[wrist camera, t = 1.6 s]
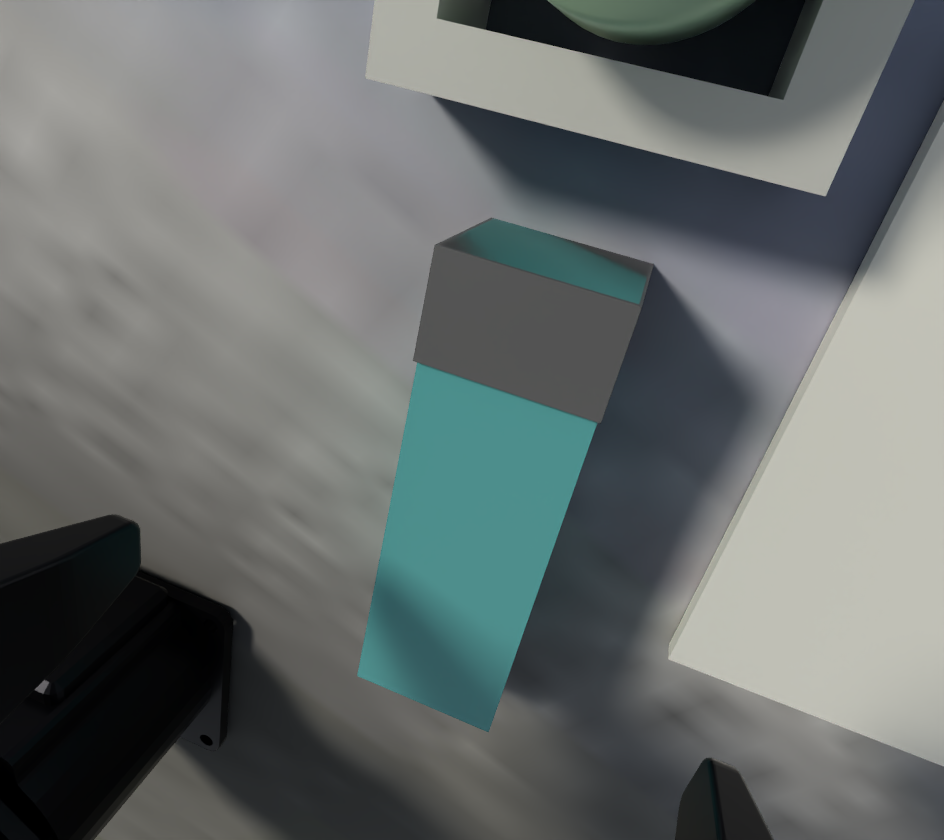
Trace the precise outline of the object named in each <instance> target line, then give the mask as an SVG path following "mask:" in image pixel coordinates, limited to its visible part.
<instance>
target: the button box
mask: <svg viewBox="0 0 944 840" xmlns="http://www.w3.org/2000/svg"><path fill="white" fill-rule="evenodd" d="M914 1H915V0H806V1H805V3H804V6H803V8H802V11H801V13H800V16H799V19H798V21H797V24H796V26H795V29H794V31H793V34H792V37H791V39H790V42H789V44H788V47H787V49H786V52H785V55H784V57H783V60H782V62H781V65H780V68H779V70H778V73H777V75H776V78H775V80H774V83H773V86H772V88H771V91H770V93H769V96H764V95H760V94H756V93H751V92H747V91H743V90H739V89H734V88H730V87H726V86H722V85H717V84H713V83H709V82H705V81H700V80H696V79H692V78H688V77H683V76H679V75H675V74H671V73H666V72H662V71H658V70H654V69H649V68H645V67H641V66H637V65H632V64H628V63H624V62H620V61H615V60H611V59H607V58H603V57H598V56H594V55H590V54H586V53H581V52H577V51H573V50H569V49H564V48H560V47H556V46H552V45H547V44H543V43H539V42H535V41H530V40H526V39H522V38H518V37H513V36H509V35H505V34H501V33H496V32H492V31H488V30H486V25H487V20H488V15H489V10H490V5H491V0H375V3H374V11H373V19H372V27H371V35H370V43H369V51H368V60H367V68H366V76H365V78H367V79H371V80H374V81H378V82H382V83H386V84H390V85H394V86H398V87H402V88H406V89H409V90H413V91H417V92H421V93H425V94H429V95H433V96H437V97H441V98H444V99H448V100H452V101H456V102H460V103H464V104H468V105H472V106H476V107H479V108H483V109H487V110H491V111H495V112H499V113H503V114H507V115H511V116H514V117H518V118H522V119H526V120H530V121H534V122H538V123H542V124H546V125H549V126H553V127H557V128H561V129H565V130H569V131H573V132H577V133H581V134H584V135H588V136H592V137H596V138H600V139H604V140H608V141H612V142H616V143H619V144H623V145H627V146H631V147H635V148H639V149H643V150H647V151H650V152H654V153H658V154H662V155H666V156H670V157H674V158H678V159H682V160H685V161H689V162H693V163H697V164H701V165H705V166H709V167H713V168H717V169H720V170H724V171H728V172H732V173H736V174H740V175H744V176H748V177H752V178H755V179H759V180H763V181H767V182H771V183H775V184H779V185H783V186H787V187H790V188H794V189H798V190H802V191H806V192H810V193H814V194H818V195H822V196H826V194H827V192H828V190H829V188H830V185H831V183H832V181H833V179H834V177H835V174H836V172H837V170H838V168H839V166H840V163H841V161H842V159H843V157H844V155H845V152H846V150H847V148H848V146H849V144H850V141H851V139H852V137H853V135H854V133H855V131H856V128H857V126H858V124H859V122H860V120H861V117H862V115H863V113H864V111H865V109H866V106H867V104H868V102H869V100H870V98H871V95H872V93H873V91H874V89H875V87H876V84H877V82H878V80H879V78H880V76H881V73H882V71H883V69H884V67H885V65H886V63H887V60H888V58H889V56H890V54H891V52H892V49H893V47H894V45H895V43H896V41H897V38H898V36H899V34H900V32H901V30H902V27H903V25H904V23H905V21H906V19H907V16H908V14H909V12H910V10H911V8H912V6H913V3H914Z"/></svg>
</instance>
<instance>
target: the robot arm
mask: <svg viewBox="0 0 944 840" xmlns="http://www.w3.org/2000/svg"><path fill="white" fill-rule="evenodd" d="M140 564H141V544H140V528H139V526H138V524H137V523H136V522H134V521H132V520H129V519H127V518H124V517H122V516H119V515H107V516H103V517H99V518H96V519H92V520H88V521H84V522H81V523H77V524H73V525H69V526H65V527H62V528H58V529H54V530H50V531H47V532H43V533H39V534H35V535H31V536H28V537H24V538H20V539H16V540H13V541H9V542H5V543H1V544H0V840H94V839H95V838H96V837H97V835H98V834H99V833H100V832H101V831H102V829H103V828H104V827H105V826H106V825H107V823H108V822H109V821H110V820H111V819H112V817H113V816H114V815H115V814H116V813H117V811H118V810H119V809H120V808H121V807H122V805H123V804H124V803H125V802H126V801H127V799H128V798H129V797H130V796H131V795H132V793H133V792H134V791H135V790H136V789H137V787H138V786H139V785H140V784H141V783H142V781H143V780H144V779H145V778H146V777H147V775H148V774H149V773H150V772H151V771H152V769H153V768H154V767H155V766H156V765H157V763H158V762H159V761H160V760H161V759H162V757H163V756H164V755H165V754H166V753H167V751H168V750H169V749H170V748H171V747H172V745H173V744H174V743H175V742H176V741H177V739H178V738H179V737H181V738H183V739H185V740H187V741H189V742H192V743H194V744H196V745H198V746H200V747H202V748H204V749H207V750H210V751H216V750H217V749H219V747H220V746H221V745H222V743H223V742H224V741H225V739H226V735H227V717H228V700H229V682H230V665H231V647H232V630H233V621H232V617H231V616H230V614H229V613H228V612H227V611H226V610H225V609H224V608H223V607H221V606H219V605H217V604H215V603H212V602H210V601H207V600H205V599H203V598H200V597H198V596H196V595H193V594H191V593H189V592H186V591H184V590H182V589H179V588H177V587H175V586H172V585H170V584H168V583H165V582H163V581H161V580H158V579H156V578H154V577H151V576H149V575H146V574H144V573H142V572H139V571H138V570H139V568H140ZM675 840H774V839H773V837H772V835H771V833H770V831H769V829H768V827H767V825H766V823H765V821H764V819H763V817H762V815H761V813H760V811H759V809H758V807H757V805H756V803H755V801H754V799H753V797H752V795H751V793H750V791H749V789H748V787H747V785H746V783H745V781H744V779H743V777H742V775H741V774H740V772H739V771H738V770H737V769H736V768H735V767H733V766H731V765H728V764H726V763H723V762H721V761H719V760H716V759H714V758H706V759H704V760H703V762H702V763H701V764H700V766H699V768H698V769H697V771H696V773H695V774H694V776H693V778H692V779H691V781H690V782H689V784H688V786H687V787H686V789H685V791H684V793H683V795H682V798H681V801H680V806H679V812H678V820H677V828H676V836H675Z"/></svg>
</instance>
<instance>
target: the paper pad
mask: <svg viewBox="0 0 944 840" xmlns="http://www.w3.org/2000/svg"><path fill="white" fill-rule="evenodd" d="M668 659H669V660H672V661H674V662H677V663H679V664H682V665H684V666H687V667H689V668H692V669H695V670H697V671H700V672H702V673H705V674H707V675H710V676H713V677H715V678H718V679H720V680H723V681H725V682H728V683H731V684H733V685H736V686H738V687H741V688H743V689H746V690H748V691H751V692H754V693H756V694H759V695H761V696H764V697H766V698H769V699H772V700H774V701H777V702H779V703H782V704H784V705H787V706H790V707H792V708H795V709H797V710H800V711H802V712H805V713H807V714H810V715H813V716H815V717H818V718H820V719H823V720H825V721H828V722H831V723H833V724H836V725H838V726H841V727H843V728H846V729H849V730H851V731H854V732H856V733H859V734H861V735H864V736H866V737H869V738H872V739H874V740H877V741H879V742H882V743H884V744H887V745H890V746H892V747H895V748H897V749H900V750H902V751H905V752H908V753H910V754H913V755H915V756H918V757H920V758H923V759H925V760H928V761H931V762H933V763H936V764H938V765H941V766H943V767H944V101H943V103H942V105H941V107H940V109H939V111H938V113H937V115H936V117H935V119H934V121H933V123H932V125H931V126H930V128H929V130H928V132H927V134H926V136H925V138H924V140H923V142H922V144H921V146H920V148H919V150H918V152H917V154H916V156H915V158H914V160H913V162H912V164H911V166H910V168H909V170H908V172H907V174H906V176H905V178H904V180H903V182H902V184H901V186H900V188H899V190H898V192H897V194H896V196H895V198H894V200H893V202H892V204H891V206H890V208H889V210H888V212H887V214H886V216H885V218H884V220H883V222H882V224H881V226H880V228H879V229H878V231H877V233H876V235H875V237H874V239H873V241H872V243H871V245H870V247H869V249H868V251H867V253H866V255H865V257H864V259H863V261H862V263H861V265H860V267H859V269H858V271H857V273H856V275H855V277H854V279H853V281H852V283H851V285H850V287H849V289H848V291H847V293H846V295H845V297H844V299H843V301H842V303H841V305H840V307H839V309H838V311H837V313H836V315H835V317H834V319H833V321H832V323H831V325H830V327H829V329H828V330H827V332H826V334H825V336H824V338H823V340H822V342H821V344H820V346H819V348H818V350H817V352H816V354H815V356H814V358H813V360H812V362H811V364H810V366H809V368H808V370H807V372H806V374H805V376H804V378H803V380H802V382H801V384H800V386H799V388H798V390H797V392H796V394H795V396H794V398H793V400H792V402H791V404H790V406H789V408H788V410H787V412H786V414H785V416H784V418H783V420H782V422H781V424H780V426H779V428H778V430H777V431H776V433H775V435H774V437H773V439H772V441H771V443H770V445H769V447H768V449H767V451H766V453H765V455H764V457H763V459H762V461H761V463H760V465H759V467H758V469H757V471H756V473H755V475H754V477H753V479H752V481H751V483H750V485H749V487H748V489H747V491H746V493H745V495H744V497H743V499H742V501H741V503H740V505H739V507H738V509H737V511H736V513H735V515H734V517H733V519H732V521H731V523H730V525H729V527H728V529H727V531H726V532H725V534H724V536H723V538H722V540H721V542H720V544H719V546H718V548H717V550H716V552H715V554H714V556H713V558H712V560H711V562H710V564H709V566H708V568H707V570H706V572H705V574H704V576H703V578H702V580H701V582H700V584H699V586H698V588H697V590H696V592H695V594H694V596H693V598H692V600H691V602H690V604H689V606H688V608H687V610H686V612H685V614H684V616H683V618H682V620H681V622H680V624H679V626H678V628H677V630H676V632H675V634H674V635H673V637H672V639H671V641H670V643H669V655H668Z"/></svg>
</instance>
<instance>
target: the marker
mask: <svg viewBox="0 0 944 840" xmlns="http://www.w3.org/2000/svg"><path fill="white" fill-rule="evenodd" d="M653 265H654V264H651V263H648V262H644V261H641V260H637V259H634V258H630V257H627V256H623V255H620V254H616V253H613V252H609V251H606V250H602V249H599V248H595V247H592V246H588V245H585V244H581V243H578V242H574V241H571V240H567V239H564V238H560V237H557V236H554V235H550V234H547V233H543V232H540V231H536V230H533V229H529V228H526V227H522V226H519V225H515V224H512V223H508V222H505V221H501V220H498V219H494V218H490V219H488V220H486V221H484V222H482V223H479V224H477V225H475V226H473V227H471V228H469V229H467V230H465V231H463V232H461V233H459V234H457V235H454V236H452V237H450V238H448V239H446V240H444V241H442V242H440V243H438V244H436V245H435V247H434V252H433V257H432V263H431V268H430V273H429V279H428V284H427V289H426V295H425V300H424V305H423V310H422V316H421V321H420V326H419V332H418V337H417V342H416V348H415V353H414V358H413V361H415V362H417V367H416V372H415V378H414V383H413V388H412V393H411V398H410V404H409V409H408V414H407V419H406V424H405V430H404V435H403V440H402V445H401V451H400V456H399V461H398V466H397V471H396V477H395V482H394V487H393V492H392V497H391V503H390V508H389V513H388V518H387V523H386V529H385V534H384V539H383V544H382V550H381V555H380V560H379V565H378V570H377V576H376V581H375V586H374V591H373V596H372V602H371V607H370V612H369V617H368V623H367V628H366V633H365V638H364V643H363V649H362V654H361V659H360V664H359V669H358V675H357V676H359V677H361V678H363V679H366V680H368V681H370V682H373V683H375V684H377V685H380V686H382V687H384V688H387V689H389V690H391V691H394V692H396V693H398V694H401V695H403V696H405V697H408V698H410V699H412V700H415V701H417V702H419V703H422V704H424V705H426V706H429V707H431V708H433V709H435V710H438V711H440V712H442V713H445V714H447V715H449V716H452V717H454V718H456V719H459V720H461V721H463V722H466V723H468V724H470V725H473V726H475V727H477V728H480V729H482V730H484V731H487V732H489V729H490V726H491V724H492V721H493V718H494V715H495V712H496V709H497V707H498V704H499V701H500V698H501V695H502V692H503V690H504V687H505V684H506V681H507V678H508V675H509V672H510V670H511V667H512V664H513V661H514V658H515V655H516V653H517V650H518V647H519V644H520V641H521V638H522V636H523V633H524V630H525V627H526V624H527V621H528V619H529V616H530V613H531V610H532V607H533V604H534V601H535V599H536V596H537V593H538V590H539V587H540V584H541V582H542V579H543V576H544V573H545V570H546V567H547V565H548V562H549V559H550V556H551V553H552V550H553V548H554V545H555V542H556V539H557V536H558V533H559V531H560V528H561V525H562V522H563V519H564V516H565V513H566V511H567V508H568V505H569V502H570V499H571V496H572V494H573V491H574V488H575V485H576V482H577V479H578V477H579V474H580V471H581V468H582V465H583V462H584V460H585V457H586V454H587V451H588V448H589V445H590V442H591V440H592V437H593V434H594V431H595V428H596V425H597V423H600V424H601V421H602V418H603V415H604V413H605V410H606V407H607V404H608V401H609V398H610V396H611V393H612V390H613V387H614V384H615V382H616V379H617V376H618V373H619V370H620V368H621V365H622V362H623V359H624V356H625V353H626V351H627V348H628V345H629V342H630V339H631V337H632V334H633V331H634V328H635V325H636V322H637V320H638V317H639V314H640V311H641V308H642V305H643V301H644V298H645V294H646V291H647V287H648V283H649V280H650V276H651V272H652V269H653Z"/></svg>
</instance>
